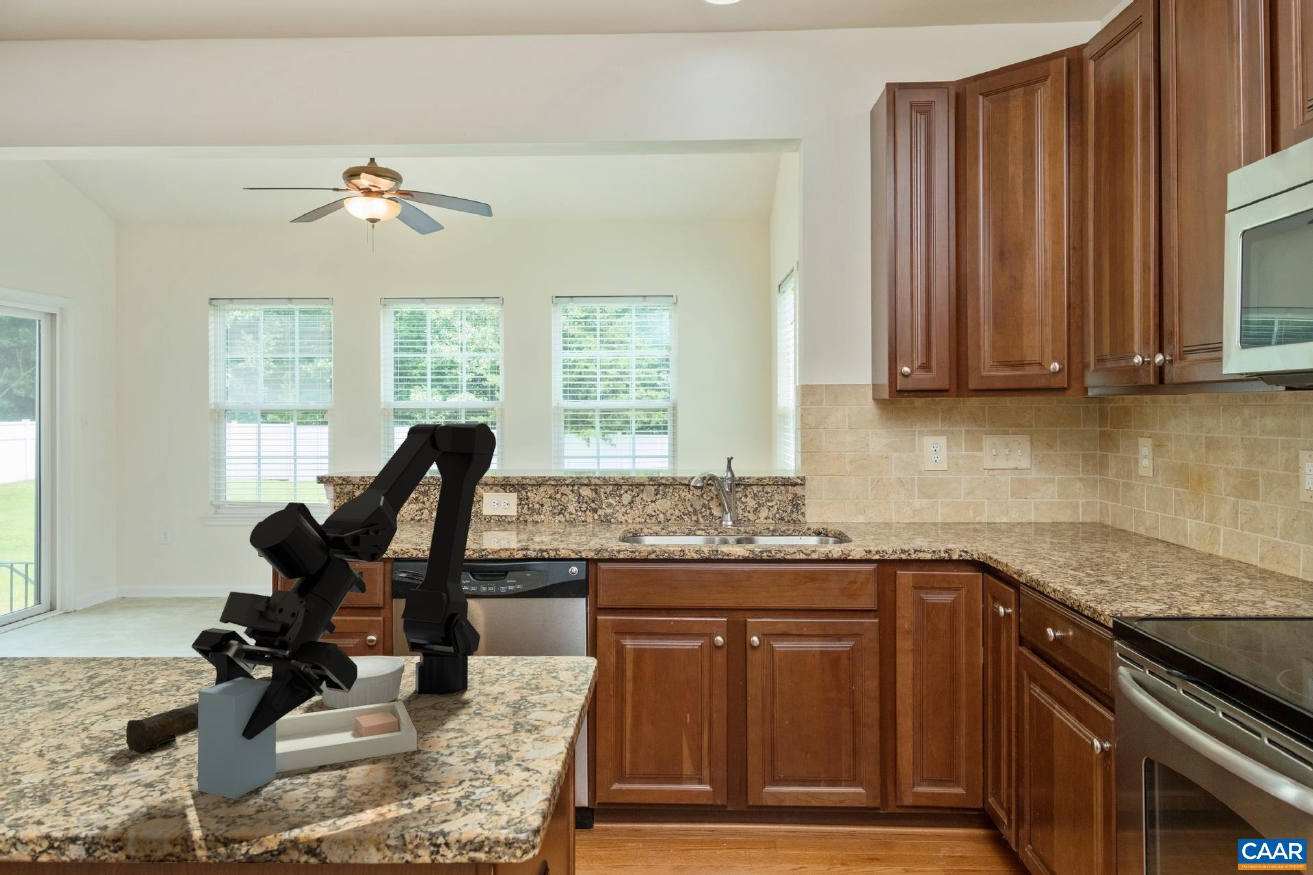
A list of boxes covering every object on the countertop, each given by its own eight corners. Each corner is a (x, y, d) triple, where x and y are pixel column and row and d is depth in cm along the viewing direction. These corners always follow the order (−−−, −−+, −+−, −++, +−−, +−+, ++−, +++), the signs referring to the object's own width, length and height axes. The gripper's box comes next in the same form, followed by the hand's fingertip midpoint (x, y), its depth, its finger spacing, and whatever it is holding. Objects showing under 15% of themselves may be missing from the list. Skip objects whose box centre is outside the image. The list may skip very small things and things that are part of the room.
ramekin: (298, 712, 105) (298, 672, 105) (358, 687, 116) (358, 651, 116) (364, 723, 101) (364, 682, 101) (420, 697, 112) (420, 659, 112)
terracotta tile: (388, 722, 98) (388, 710, 98) (398, 732, 95) (398, 720, 95) (354, 729, 96) (355, 717, 96) (364, 739, 93) (364, 726, 93)
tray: (401, 724, 101) (401, 700, 101) (416, 758, 90) (416, 732, 90) (261, 744, 94) (262, 719, 94) (259, 784, 83) (259, 755, 83)
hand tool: (140, 758, 90) (141, 717, 90) (123, 750, 92) (123, 711, 92) (291, 710, 107) (292, 676, 107) (274, 705, 109) (274, 671, 109)
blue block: (240, 780, 84) (240, 676, 84) (275, 787, 82) (276, 682, 82) (197, 799, 79) (198, 690, 79) (234, 808, 78) (234, 696, 78)
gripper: (207, 555, 88) (106, 682, 78) (338, 566, 81) (247, 707, 71) (265, 612, 95) (180, 735, 85) (390, 626, 89) (313, 761, 78)
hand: (226, 733), depth 80 cm, fingers closed on blue block, 5 cm apart
